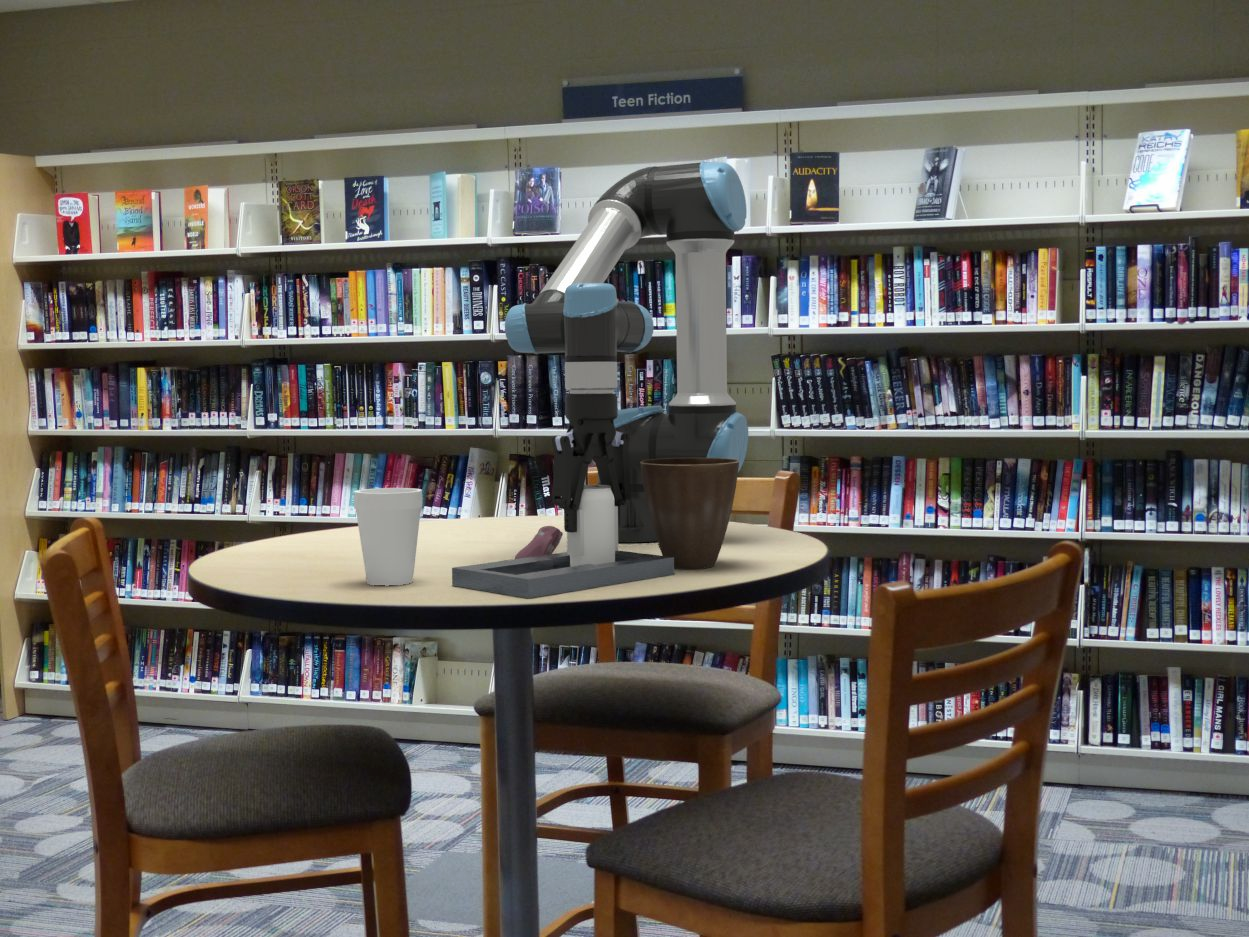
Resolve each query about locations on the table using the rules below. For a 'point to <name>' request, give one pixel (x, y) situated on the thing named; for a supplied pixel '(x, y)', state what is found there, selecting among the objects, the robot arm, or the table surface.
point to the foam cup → (388, 533)
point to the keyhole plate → (558, 574)
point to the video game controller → (542, 543)
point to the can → (597, 526)
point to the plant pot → (690, 506)
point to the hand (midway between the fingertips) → (593, 552)
